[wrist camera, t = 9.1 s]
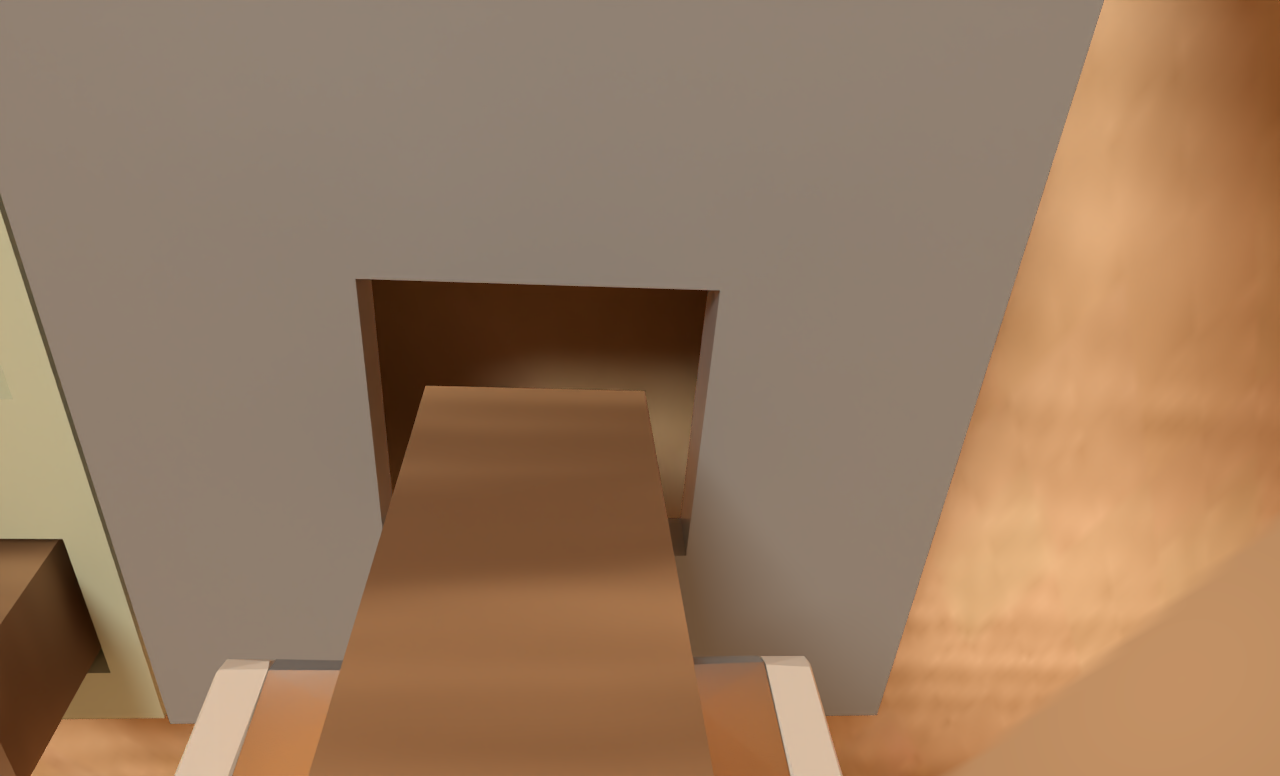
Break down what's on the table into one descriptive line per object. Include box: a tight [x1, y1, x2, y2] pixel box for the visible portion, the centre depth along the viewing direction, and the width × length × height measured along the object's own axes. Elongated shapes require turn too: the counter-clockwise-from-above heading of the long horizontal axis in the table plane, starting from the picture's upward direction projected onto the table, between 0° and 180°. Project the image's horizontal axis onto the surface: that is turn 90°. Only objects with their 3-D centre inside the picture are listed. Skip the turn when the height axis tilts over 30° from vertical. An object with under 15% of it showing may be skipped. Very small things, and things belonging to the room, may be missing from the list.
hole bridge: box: [0, 0, 1104, 724], centre depth 16 cm, size 14×14×4 cm
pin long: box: [308, 386, 714, 776], centre depth 10 cm, size 3×3×9 cm
